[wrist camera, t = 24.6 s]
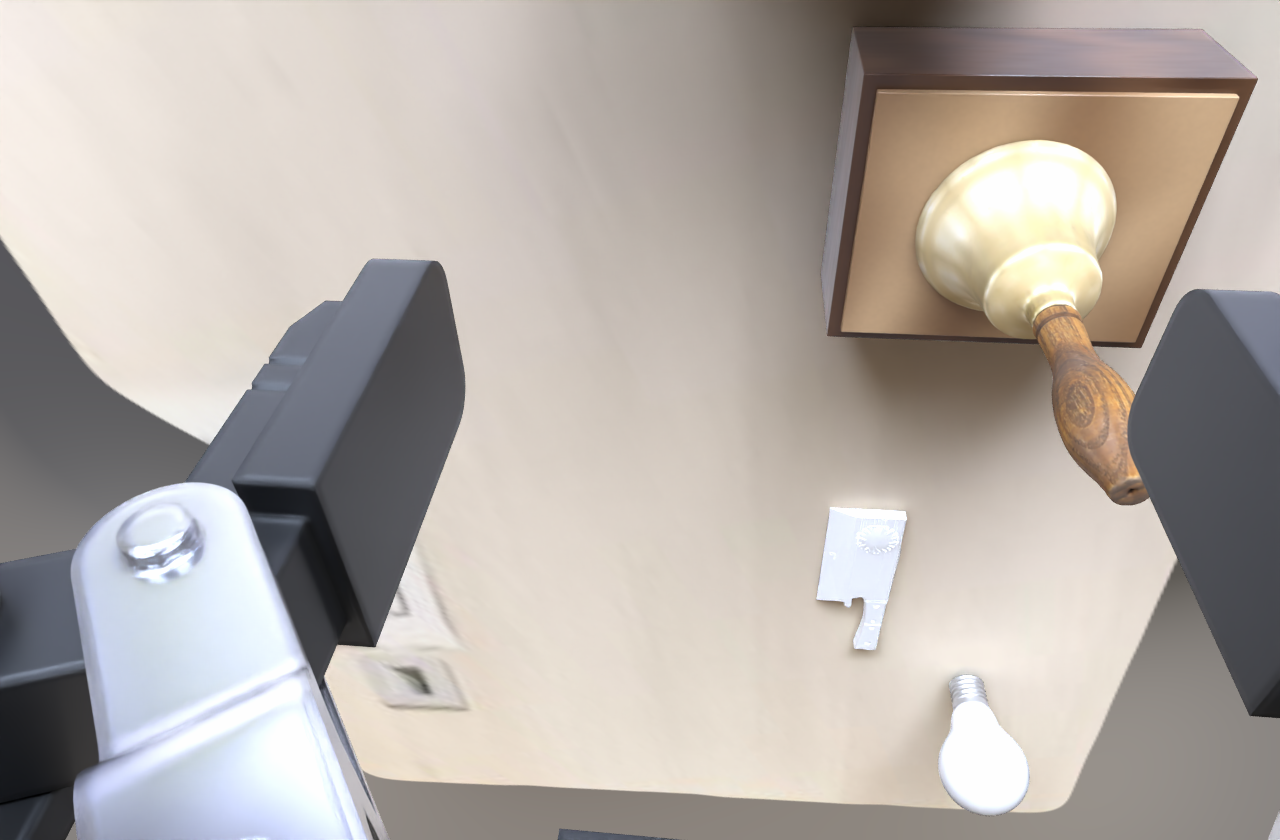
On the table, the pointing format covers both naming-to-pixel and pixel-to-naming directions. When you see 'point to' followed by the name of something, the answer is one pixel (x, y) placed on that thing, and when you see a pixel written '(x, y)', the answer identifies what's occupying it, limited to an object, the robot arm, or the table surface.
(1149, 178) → the block
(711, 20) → the table surface
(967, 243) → the hand bell
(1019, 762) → the lightbulb
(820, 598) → the white cleaver
